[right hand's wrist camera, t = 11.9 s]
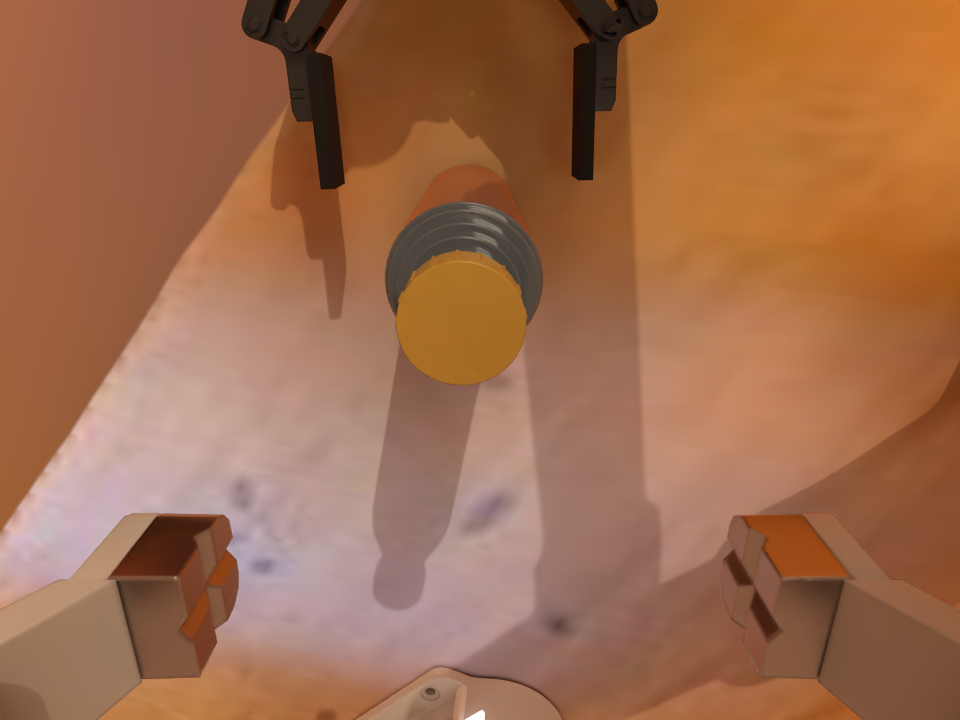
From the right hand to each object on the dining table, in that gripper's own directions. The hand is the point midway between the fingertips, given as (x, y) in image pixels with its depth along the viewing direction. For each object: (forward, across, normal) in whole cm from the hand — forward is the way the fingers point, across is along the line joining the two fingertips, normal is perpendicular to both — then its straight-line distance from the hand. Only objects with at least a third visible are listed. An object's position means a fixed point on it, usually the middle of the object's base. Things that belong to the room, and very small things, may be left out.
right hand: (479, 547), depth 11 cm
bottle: (+34, -1, 0) cm, 34 cm away
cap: (+10, -1, 0) cm, 11 cm away
